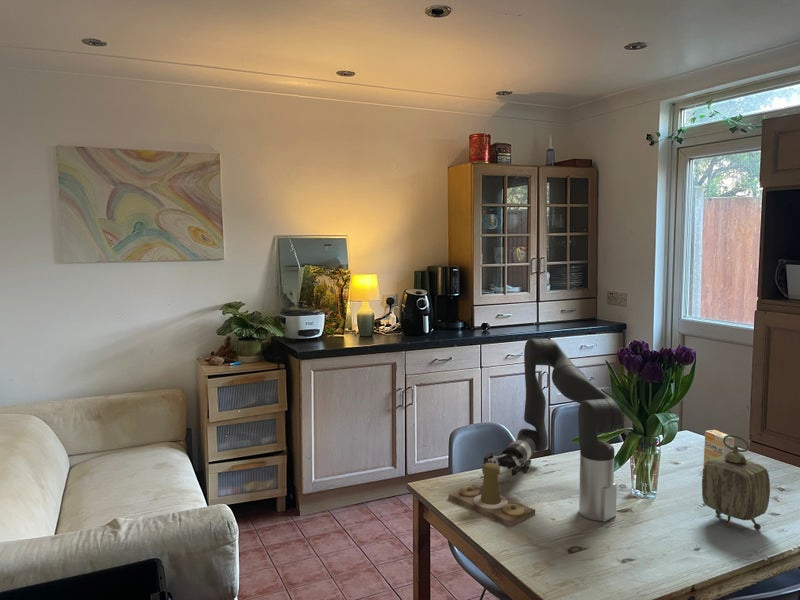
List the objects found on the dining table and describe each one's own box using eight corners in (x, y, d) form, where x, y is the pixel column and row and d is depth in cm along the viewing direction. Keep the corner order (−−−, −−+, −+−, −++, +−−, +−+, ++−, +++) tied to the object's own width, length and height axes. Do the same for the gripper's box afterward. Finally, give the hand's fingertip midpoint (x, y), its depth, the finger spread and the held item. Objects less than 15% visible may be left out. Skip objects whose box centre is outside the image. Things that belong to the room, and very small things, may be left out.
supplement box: (702, 467, 205) (703, 430, 204) (713, 466, 206) (715, 429, 205) (722, 476, 197) (723, 437, 196) (733, 474, 198) (735, 436, 197)
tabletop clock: (768, 531, 159) (772, 440, 157) (749, 540, 154) (754, 446, 152) (715, 511, 171) (718, 426, 169) (696, 518, 167) (700, 431, 164)
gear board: (535, 514, 170) (535, 504, 170) (510, 526, 163) (510, 516, 163) (473, 489, 188) (473, 480, 188) (448, 498, 181) (448, 489, 181)
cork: (499, 496, 179) (499, 460, 178) (502, 504, 173) (503, 467, 172) (479, 496, 178) (479, 460, 178) (482, 504, 172) (482, 468, 171)
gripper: (496, 439, 198) (477, 454, 184) (538, 446, 191) (522, 462, 177) (496, 461, 199) (477, 478, 185) (537, 469, 192) (521, 487, 178)
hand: (499, 470), depth 181 cm, fingers open, 8 cm apart
